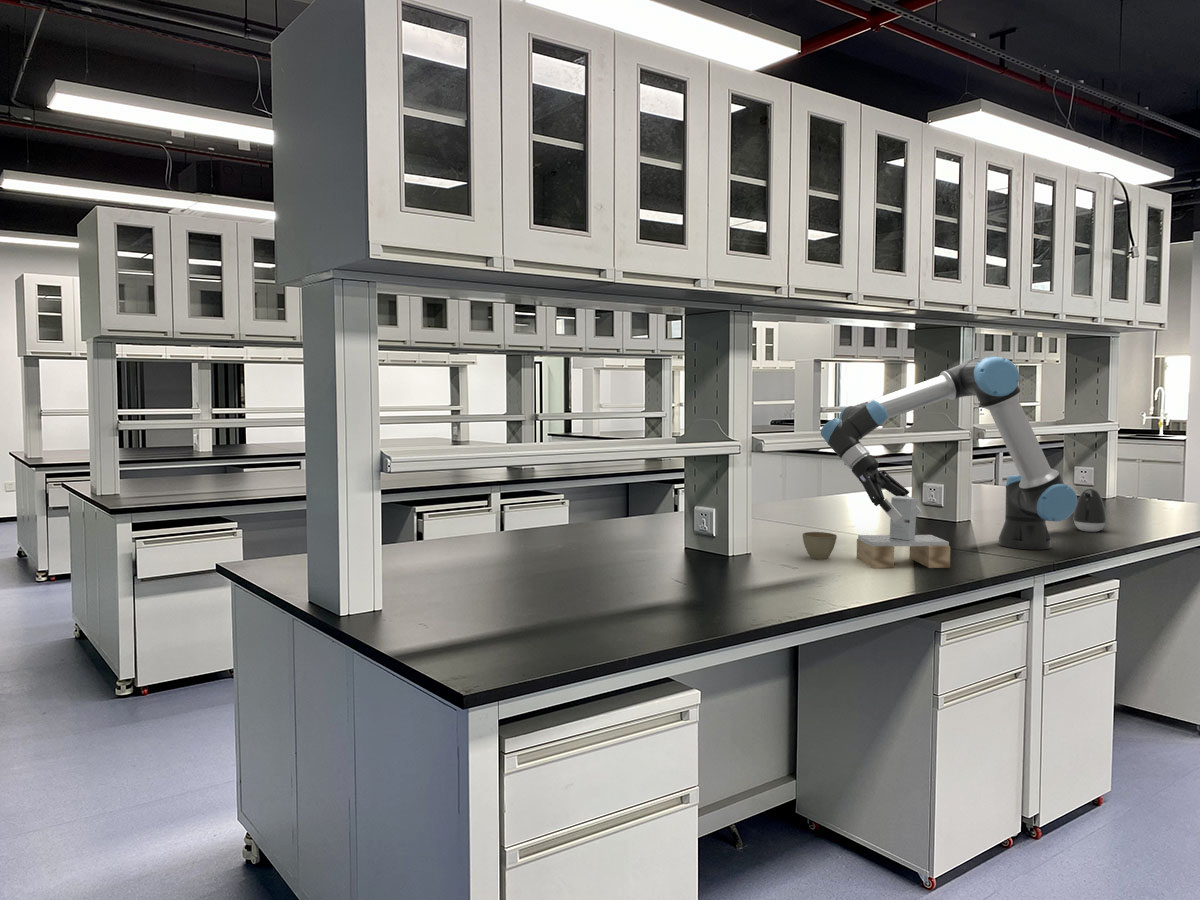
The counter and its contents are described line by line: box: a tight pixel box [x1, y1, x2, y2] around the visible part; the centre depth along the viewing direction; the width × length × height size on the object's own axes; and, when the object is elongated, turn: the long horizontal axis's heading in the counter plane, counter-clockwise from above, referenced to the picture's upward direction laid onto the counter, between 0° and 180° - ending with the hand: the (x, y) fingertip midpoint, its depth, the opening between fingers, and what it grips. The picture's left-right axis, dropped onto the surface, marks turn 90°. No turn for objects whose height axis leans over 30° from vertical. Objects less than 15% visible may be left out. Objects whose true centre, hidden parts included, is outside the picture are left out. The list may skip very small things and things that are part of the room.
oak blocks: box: [856, 538, 951, 569], centre depth 241 cm, size 22×14×6 cm, turn 91°
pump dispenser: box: [1072, 488, 1107, 533], centre depth 298 cm, size 10×10×15 cm
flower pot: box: [802, 531, 838, 561], centre depth 249 cm, size 10×10×7 cm
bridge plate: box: [857, 534, 950, 547], centre depth 241 cm, size 22×12×1 cm, turn 91°
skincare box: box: [889, 495, 918, 540], centre depth 241 cm, size 6×4×12 cm
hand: (908, 516), depth 239 cm, fingers open, 13 cm apart
